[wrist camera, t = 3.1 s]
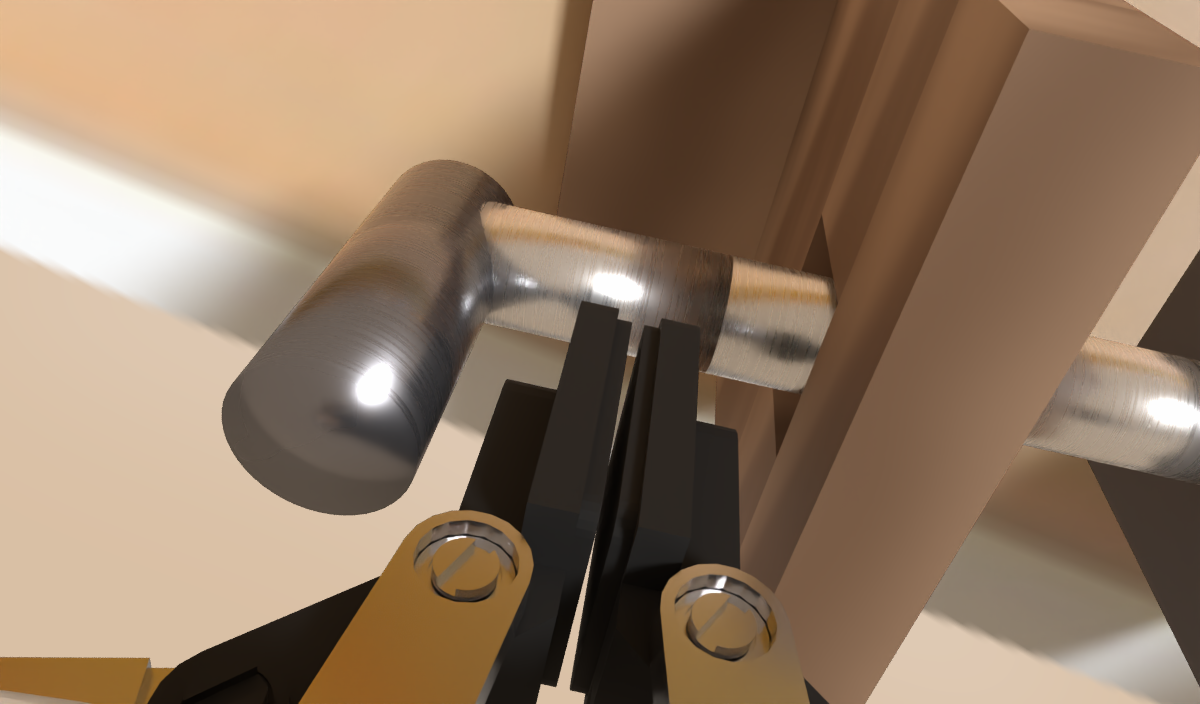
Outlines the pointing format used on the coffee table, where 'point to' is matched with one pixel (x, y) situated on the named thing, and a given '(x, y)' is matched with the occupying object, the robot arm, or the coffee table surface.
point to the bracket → (888, 250)
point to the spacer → (1166, 490)
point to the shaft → (549, 308)
